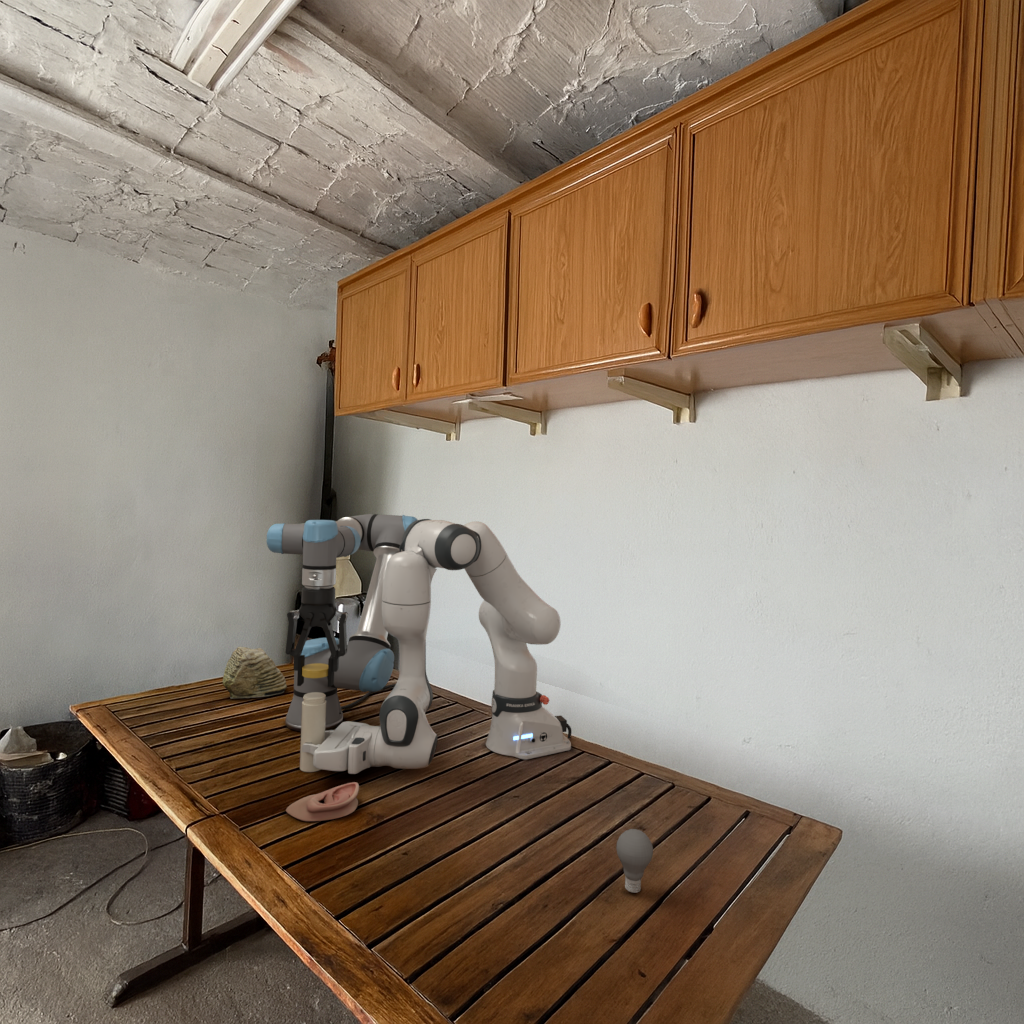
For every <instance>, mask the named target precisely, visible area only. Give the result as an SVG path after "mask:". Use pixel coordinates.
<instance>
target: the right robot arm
mask: <svg viewBox="0 0 1024 1024" xmlns="http://www.w3.org/2000/svg"><path fill="white" fill-rule="evenodd" d="M401 549H402V552H401ZM399 551H400V552H399V553H396V554H394V555H393V556H391V557H390V559H389V560H388V563H387V566H386V571H385V576H384V582H383V590H382V618H383V624H384V628H385V629H386V631H387V632H388V635H389V636H391V637H393V638H395V639H397V642H398V646H399V674H398V678H397V681H396V683H395V684H396V685H395V686H394V687H392V690H391V691H390V693H389V694H388V695H387V696H386V698H385V699H384V701H383V702H382V704H381V706H380V709H379V714H378V719H379V725H370V724H368V723H365V722H358V721H350V720H347V721H343V722H342V723H341V724H340V725H339V726H337V727H335V728H334V729H329V730H325V741H324V742H323V743H322V744H318V745H314V744H312V742H305V743H304V744H303V745H302V751H303V752H308V753H311V754H313V766H314V767H316V768H318V769H321V770H322V771H323V770H324V771H330V772H331V771H332V772H346V771H347V773H348V774H349V775H356V774H357V775H358V774H359V773H361V772H362V771H364V770H366V769H370V768H371V767H372V768H373V767H374V768H380V767H381V768H382V767H390V768H393V769H401V770H419V769H424V768H425V769H426V768H427V767H429V766H430V765H431V763H432V762H433V759H434V757H435V753H436V750H437V746H438V738H439V737H438V734H437V733H436V732H435V731H434V729H433V728H432V726H431V724H430V722H429V721H428V718H427V715H426V713H428V710H429V709H430V708H431V706H432V704H433V700H434V694H433V689H432V686H431V684H430V681H429V678H428V675H427V641H426V640H427V634H428V627H429V623H430V618H431V617H430V616H431V608H432V607H431V606H432V604H431V603H432V581H433V578H434V576H435V573H436V572H437V571H438V569H437V568H439V569H445V570H446V571H461V570H464V571H465V572H466V574H467V576H468V578H469V579H470V581H471V583H472V585H473V586H474V587H475V589H476V591H477V593H478V595H479V596H480V597H481V599H483V600H482V602H481V604H480V606H479V609H478V621H479V623H480V625H481V626H482V628H483V629H484V630H485V632H486V634H487V636H488V639H489V643H490V646H491V651H492V654H493V661H494V684H493V685H494V689H493V690H492V696H491V697H492V698H491V706H490V707H491V714H492V715H491V721H490V726H489V731H488V735H487V738H486V741H485V746H486V748H487V749H488V750H489V751H491V752H493V753H496V754H499V755H503V756H509V757H515V758H517V759H520V760H531V759H535V758H540V757H545V756H549V755H553V754H558V753H563V752H567V751H571V750H572V742H571V741H570V739H572V727H571V726H570V725H569V724H568V720H567V719H566V718H565V717H563V715H554V714H553V713H551V712H550V711H549V710H548V709H547V708H545V707H544V706H547V705H548V704H549V703H550V698H549V697H548V696H546V695H545V694H542V693H540V692H539V691H537V685H538V683H537V682H538V664H537V660H536V659H535V657H534V656H533V655H532V653H531V652H530V650H529V648H528V647H529V646H528V645H535V646H536V645H540V646H541V645H549V644H551V643H552V642H554V641H555V640H556V638H557V637H558V635H559V633H560V631H561V621H562V620H561V617H560V614H559V612H558V610H557V609H556V608H554V607H553V606H551V605H550V604H548V603H547V602H546V601H544V599H542V598H541V596H539V595H538V594H537V593H536V592H535V590H533V589H532V587H531V586H530V585H529V584H528V583H527V582H526V581H525V580H524V579H523V578H522V577H521V575H520V573H519V572H518V571H517V569H516V567H515V565H514V564H513V562H512V560H511V558H510V557H509V554H508V553H507V552H506V550H505V547H504V546H503V544H502V543H501V541H500V540H499V539H498V537H497V536H496V534H495V533H494V532H493V531H492V529H491V528H490V527H489V526H488V525H487V524H486V523H484V522H482V521H476V520H475V521H470V522H467V523H465V524H461V523H455V522H452V521H448V520H443V519H439V520H438V519H431V518H421V519H417V521H415V522H413V523H411V524H410V525H409V526H408V527H407V529H406V530H405V532H404V535H403V538H402V543H401V545H400V547H399ZM564 733H567V736H566V735H565V734H564ZM570 736H571V737H570Z"/></svg>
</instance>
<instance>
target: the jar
mask: <svg viewBox="0 0 1024 1024" xmlns="http://www.w3.org/2000/svg"><path fill="white" fill-rule="evenodd" d="M325 698H326V695H325V694H324V693H320V692H312V693H307V694H305V695H304V697H303V699H304V701H303V702H302V717H301V731H300V746H299V747H300V748H299V770H300V771H301V772H303V773H315V772H319V771H321V770H322V769H318V768H316V767H314V766H313V754H311V753H308V752H303V751H302V745H303V744H304V743H305V742H312V744H314V745H318V744H322V743H323V742H324V741H325V731H326V730H325V726H326V700H325Z"/></svg>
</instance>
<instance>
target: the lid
mask: <svg viewBox="0 0 1024 1024" xmlns="http://www.w3.org/2000/svg"><path fill="white" fill-rule="evenodd" d="M302 676H303V677H306V678H322V677H326V676H328V665H327V664H322V663H315V664H308V665H305V666H303V667H302Z"/></svg>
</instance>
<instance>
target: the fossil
mask: <svg viewBox="0 0 1024 1024" xmlns="http://www.w3.org/2000/svg"><path fill="white" fill-rule="evenodd" d="M222 676H223V677H222V685H223V687H224V688H225V690H226V691H228V693H229V698H230V699H250V698H264V697H271V696H275V695H281V694H284V693H285V691H286V689H287V687H288V686H287V680H286V678H285V676H284V674H283V673H282V672H281V669H279V668H278V667H277V665H276V663H275V662H274V660H273V659H272V658H271V657H270V656H269V655H268V654H267V653H266V652H265V650H264V649H263V648H260V647H258V648H251V647H247V646H246V647H245V646H238V647H237V648H236V649H235V650H233V651H232V653H231V656H230V657H229V659H228V660H227V663H226V666H225V668H224V671H223V675H222Z"/></svg>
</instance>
